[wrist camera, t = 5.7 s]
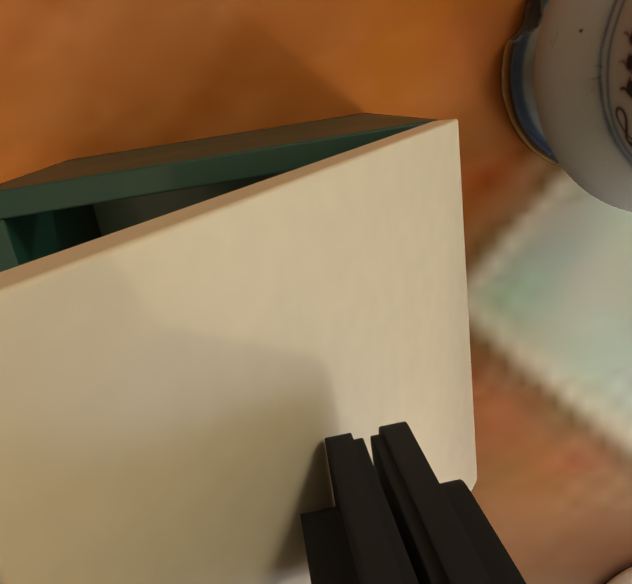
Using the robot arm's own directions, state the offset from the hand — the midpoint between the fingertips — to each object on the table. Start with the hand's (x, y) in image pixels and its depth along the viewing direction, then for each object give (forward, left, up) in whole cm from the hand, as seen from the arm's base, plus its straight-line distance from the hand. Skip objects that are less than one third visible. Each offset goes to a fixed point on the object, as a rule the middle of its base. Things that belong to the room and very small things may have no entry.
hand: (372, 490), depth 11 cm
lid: (0, 0, -2) cm, 2 cm away
